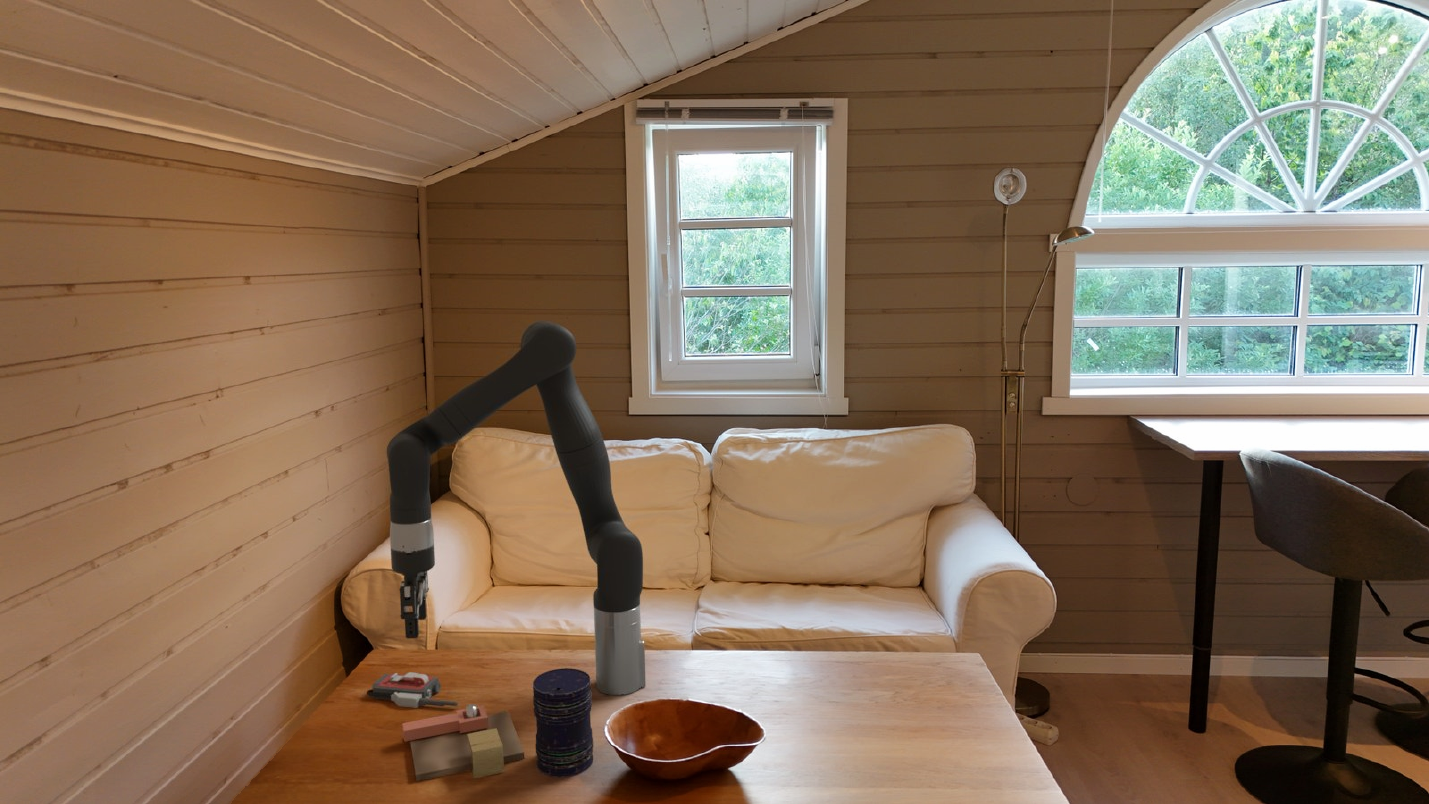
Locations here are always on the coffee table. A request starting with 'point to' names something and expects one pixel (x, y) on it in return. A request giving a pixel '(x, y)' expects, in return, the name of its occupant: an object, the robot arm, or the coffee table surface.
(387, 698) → the walkie-talkie
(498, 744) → the block
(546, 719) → the storage jar
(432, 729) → the link
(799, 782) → the coffee table surface
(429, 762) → the board
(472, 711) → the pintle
